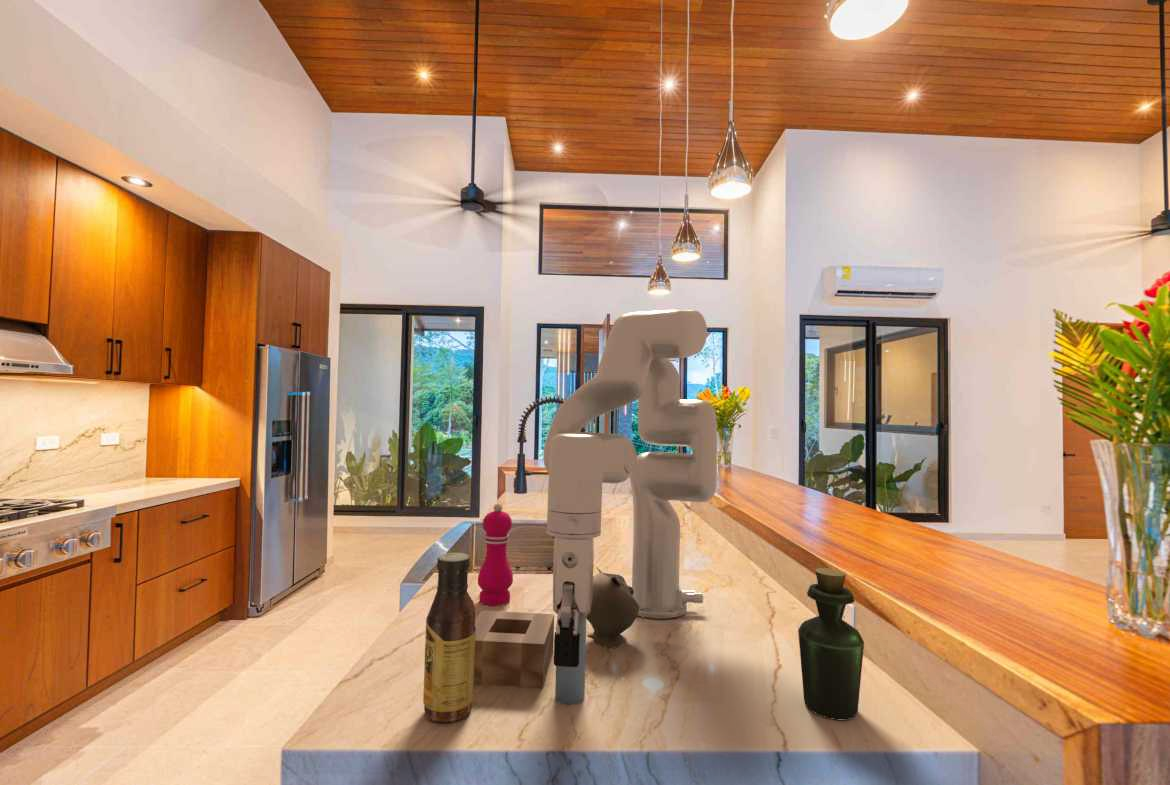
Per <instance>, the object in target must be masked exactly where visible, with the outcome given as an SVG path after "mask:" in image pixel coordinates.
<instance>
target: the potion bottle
mask: <svg viewBox="0 0 1170 785" xmlns="http://www.w3.org/2000/svg"><path fill="white" fill-rule="evenodd" d="M814 571H815V576H816V580H817V583H813V584H810V585H809V587H808V589H807V593H806V595H807V597H808V598H810V599H811V600H813V601H815V605H816V609H817V612H818V615H817V616H814V617H812V618H809V619H807V620H804V621H803V622H802V623H801V625H800V627H798V629H797V630H798V631H797V633H798V645H799V655H800V666H801V667H800V669H801V678H802V681H801V682H802V689H803V690H802V691H803V701H804V704H805V705H807V706H808V707H807V706H806V707H807V708H808V709H809V710H810V711H811V710H812V711H814V712H816V713H817V714H819V715H822V716H825V717H828V718H833V719H849V718H852V717H854V718H855V717H856V715H857V714H858V712H859V701H860V692H861V691H860V690H861V682H862V681H861V680H862V679H861V678H862V670H863V669H862V668H863V659H864V647H865V642H864V639H863V638H862V635H861V634H860V632H859V630H858V629H857V628H855V627H853V626H852V625H851V624H850V623H848V622H846V621H845V620H843V617H844V612H845V611H846V610H845V609H846V606H847V605H850V604H853V603H854V602H855V599H854V596H853V595H854V594H853V593H852V591H851V589H849V588H847V587H845V585H844V584H845V580H846V576H847V574H846V571H845V572H844V571H842V570H840V569H835V568H827V567H820V568H816V569H815V570H814ZM812 711H811V712H812ZM814 712H813V713H814ZM816 713H815V714H816ZM817 714H816V715H817ZM819 715H818V716H819ZM822 716H821V717H822ZM825 717H824V718H825ZM828 718H827V719H828ZM833 719H832V720H833ZM852 719H853V718H852ZM849 720H850V719H849Z"/></svg>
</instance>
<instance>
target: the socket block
mask: <svg viewBox="0 0 1170 785" xmlns="http://www.w3.org/2000/svg"><path fill="white" fill-rule="evenodd" d="M475 627H476V635H475V663H474V685H488V686H489V685H490V686H504V687H505V686H507V687H524V688H525V687H527V688H539V689H540V688H544V685H545V682H546V678H547V674H548V671H549V667H550V665H551V661H552V657H553V655H554V636H555V631H554V630H555V613H541V612H540V613H537V612H517V611H516V612H515V611H501V610H500V611H496V610H480V612H479V614H478V616H476V617H475Z"/></svg>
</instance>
